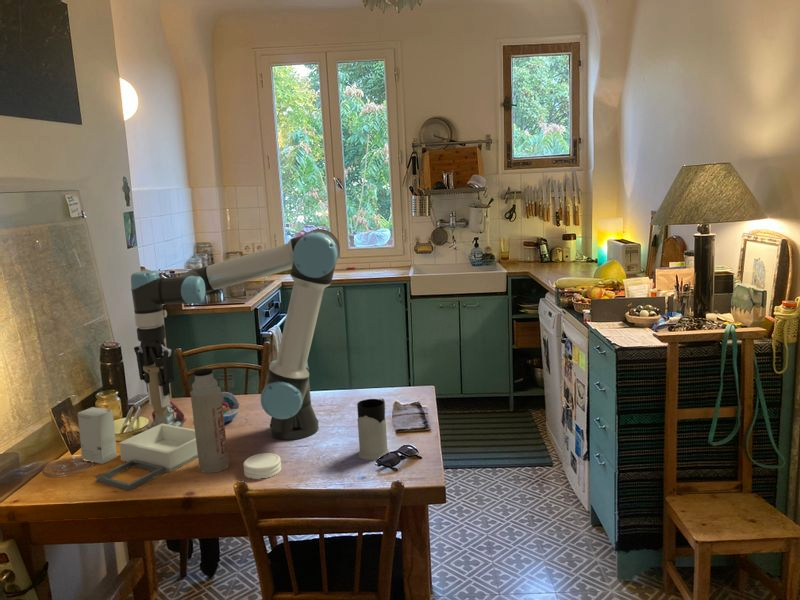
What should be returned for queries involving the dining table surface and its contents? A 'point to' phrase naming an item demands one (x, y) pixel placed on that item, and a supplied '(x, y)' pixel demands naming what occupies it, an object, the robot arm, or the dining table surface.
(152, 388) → the handle
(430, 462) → the dining table surface
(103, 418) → the skincare box
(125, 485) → the rectangular frame
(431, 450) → the dining table surface
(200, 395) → the thermos bottle
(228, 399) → the cell model
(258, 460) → the coaster
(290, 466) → the dining table surface
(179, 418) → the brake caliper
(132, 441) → the parts bin
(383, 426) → the white and black cylinder
